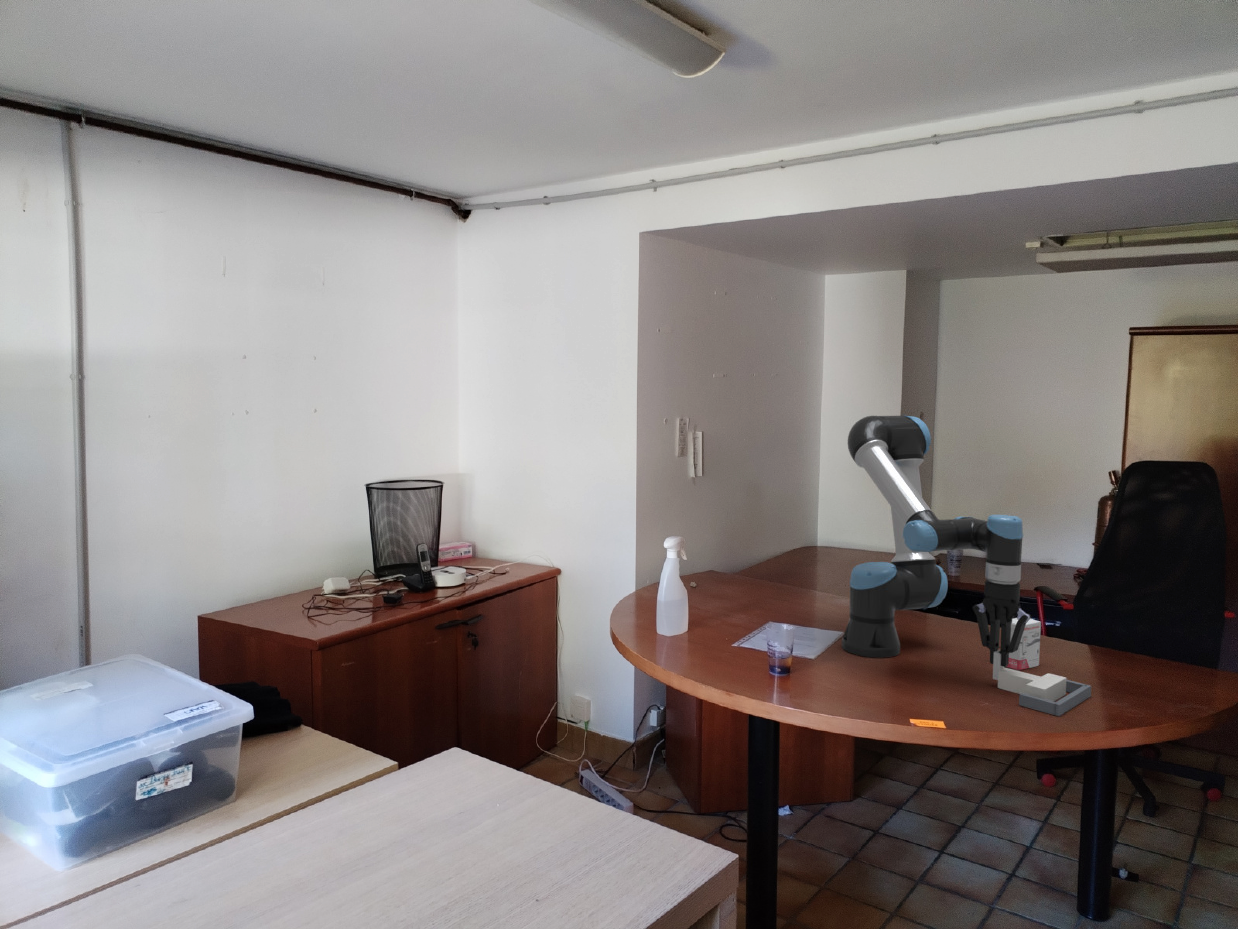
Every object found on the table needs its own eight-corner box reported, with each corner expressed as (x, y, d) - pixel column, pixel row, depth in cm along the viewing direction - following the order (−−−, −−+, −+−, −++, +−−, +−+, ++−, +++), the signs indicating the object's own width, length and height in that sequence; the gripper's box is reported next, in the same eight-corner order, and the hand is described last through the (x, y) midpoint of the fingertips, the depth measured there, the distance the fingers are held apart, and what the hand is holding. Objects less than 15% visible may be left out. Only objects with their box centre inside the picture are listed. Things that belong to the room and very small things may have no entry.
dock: (1018, 705, 175) (1019, 694, 175) (1052, 686, 187) (1052, 676, 187) (1058, 716, 169) (1059, 705, 169) (1090, 696, 181) (1091, 685, 181)
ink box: (1018, 671, 198) (1020, 625, 197) (1000, 665, 202) (1002, 620, 201) (1039, 666, 202) (1042, 620, 201) (1022, 660, 206) (1024, 616, 205)
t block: (989, 691, 183) (990, 675, 183) (1012, 680, 191) (1013, 664, 191) (1044, 707, 174) (1045, 689, 174) (1065, 694, 182) (1066, 677, 182)
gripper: (967, 578, 188) (964, 674, 190) (1024, 588, 178) (1019, 689, 180) (982, 574, 193) (978, 668, 195) (1038, 583, 183) (1033, 682, 185)
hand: (998, 678), depth 188 cm, fingers closed
